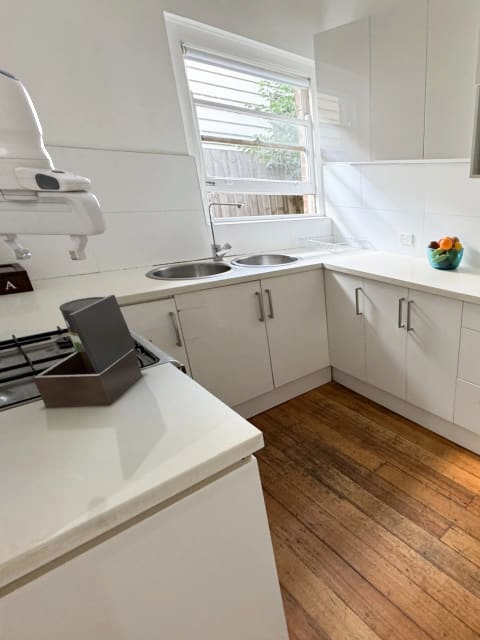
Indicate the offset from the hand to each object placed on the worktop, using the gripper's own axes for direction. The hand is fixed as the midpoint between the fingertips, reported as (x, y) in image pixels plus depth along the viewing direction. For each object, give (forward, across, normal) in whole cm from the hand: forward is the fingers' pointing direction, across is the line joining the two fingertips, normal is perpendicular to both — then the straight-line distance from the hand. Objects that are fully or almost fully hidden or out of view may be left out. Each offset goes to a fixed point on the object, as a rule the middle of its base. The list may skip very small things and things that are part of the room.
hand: (51, 259), depth 70 cm
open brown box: (+28, 0, 0) cm, 28 cm away
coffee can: (+28, -9, +18) cm, 34 cm away
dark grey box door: (+15, +5, 0) cm, 15 cm away
